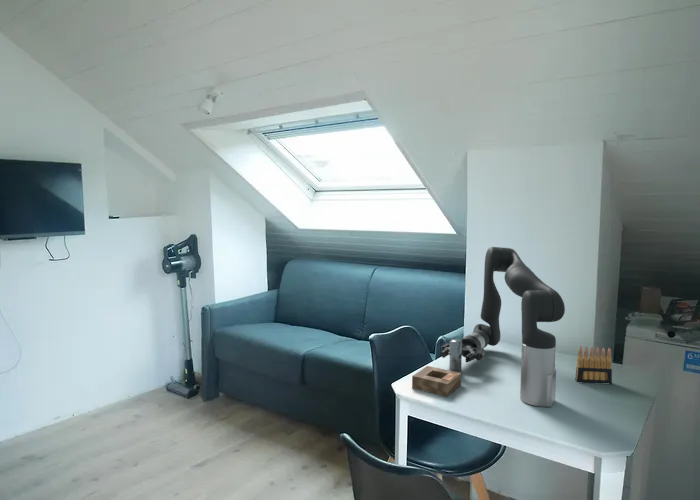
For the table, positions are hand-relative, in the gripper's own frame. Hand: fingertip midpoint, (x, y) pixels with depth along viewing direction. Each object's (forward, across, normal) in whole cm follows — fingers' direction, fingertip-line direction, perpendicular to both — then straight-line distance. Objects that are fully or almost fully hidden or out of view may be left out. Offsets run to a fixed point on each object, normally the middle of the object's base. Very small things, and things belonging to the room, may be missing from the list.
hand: (454, 357), depth 158 cm
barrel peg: (-1, 0, +6) cm, 7 cm away
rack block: (+12, -1, +6) cm, 14 cm away
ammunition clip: (-20, +40, +7) cm, 45 cm away
